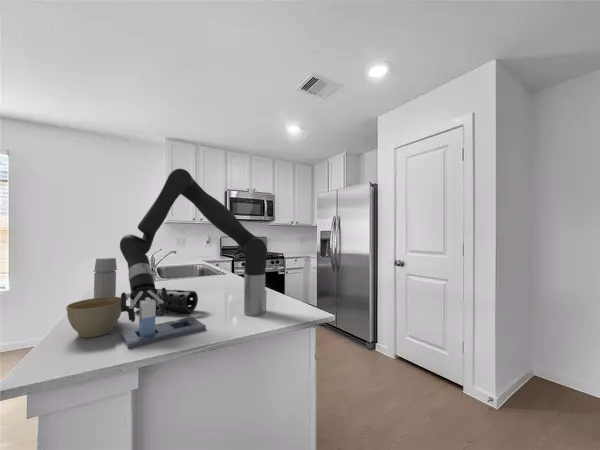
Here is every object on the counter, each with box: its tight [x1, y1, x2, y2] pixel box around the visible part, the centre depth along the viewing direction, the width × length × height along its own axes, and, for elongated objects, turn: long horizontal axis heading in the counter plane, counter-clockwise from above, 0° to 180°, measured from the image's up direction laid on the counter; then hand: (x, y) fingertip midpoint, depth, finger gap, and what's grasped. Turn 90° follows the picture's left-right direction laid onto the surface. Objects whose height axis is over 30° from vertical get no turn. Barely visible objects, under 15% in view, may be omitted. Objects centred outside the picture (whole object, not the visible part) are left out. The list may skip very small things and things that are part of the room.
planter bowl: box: [65, 296, 122, 339], centre depth 95 cm, size 16×16×11 cm
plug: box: [138, 297, 157, 337], centre depth 91 cm, size 4×4×13 cm
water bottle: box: [92, 257, 118, 298], centre depth 108 cm, size 9×8×25 cm
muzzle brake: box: [129, 288, 199, 314], centre depth 120 cm, size 10×28×10 cm, turn 78°
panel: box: [120, 316, 207, 350], centre depth 94 cm, size 24×13×2 cm, turn 132°
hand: (148, 317), depth 90 cm, fingers open, 8 cm apart
